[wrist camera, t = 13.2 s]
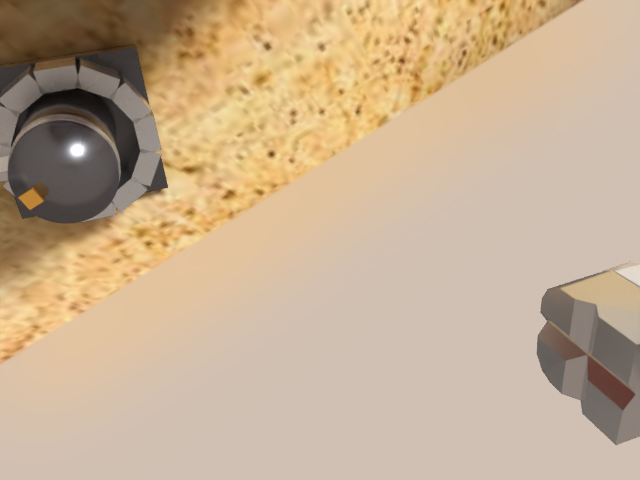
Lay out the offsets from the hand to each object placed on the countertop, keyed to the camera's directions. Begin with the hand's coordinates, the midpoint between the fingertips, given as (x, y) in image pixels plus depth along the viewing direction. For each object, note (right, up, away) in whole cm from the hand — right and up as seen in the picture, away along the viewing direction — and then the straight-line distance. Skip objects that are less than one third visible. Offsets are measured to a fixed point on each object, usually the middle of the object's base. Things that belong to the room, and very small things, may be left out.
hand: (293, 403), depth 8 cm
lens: (-14, +9, +28) cm, 33 cm away
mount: (-15, +9, +29) cm, 34 cm away
